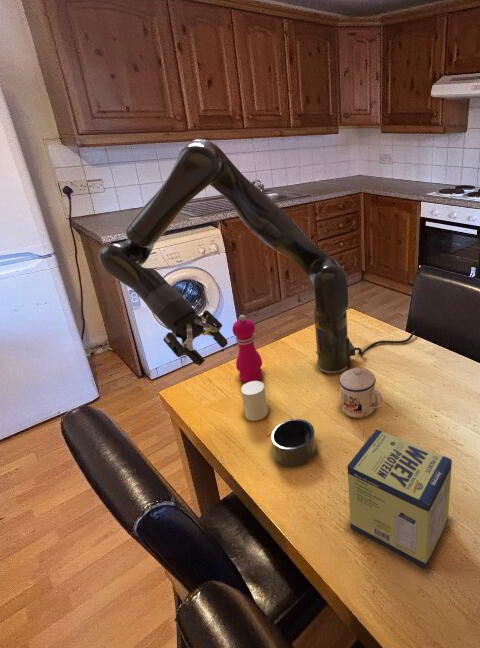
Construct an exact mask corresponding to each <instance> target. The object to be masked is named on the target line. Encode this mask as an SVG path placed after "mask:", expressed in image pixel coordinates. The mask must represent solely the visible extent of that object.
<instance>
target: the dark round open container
mask: <svg viewBox="0 0 480 648" xmlns="http://www.w3.org/2000/svg"><path fill="white" fill-rule="evenodd" d="M270 438H271V444H272V452H273V457H274V459H275V461H276V462H277V463H278V464H279V465H281V466H283V467H288V468H294V467H299V466H301V465H304V464H307V463H308V462H309V461H311V459H312V458H313V457H314V455H315V453H316V450H317V449H316V448H317V443H316V434H315V427H314V425H312V423H311V422H310V421H308V420H306V419H303V418H302V419H301V418H291V419H287V420H284V421H282V422H280V423H279V424H278V425H277V426H275V427H274V429H273V430H272V431H271V435H270Z"/></svg>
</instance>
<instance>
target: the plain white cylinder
mask: <svg viewBox="0 0 480 648" xmlns="http://www.w3.org/2000/svg"><path fill="white" fill-rule="evenodd" d="M240 390H241V391H240V392H241V397H242V403H243V408H244V415H245V418H246V419H247V420H248V421H251V422H252V421H253V422H256V421H257V422H258V421H260V420H262V419H264V418H266V417H267V415H268V413H269V409H268V402H267V395H266V388H265V384H264V383H263V382H262V381H259V380H257V381H251V382H248V383H247V382H245V383H244V384H243V385H242V386H241V388H240Z"/></svg>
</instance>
